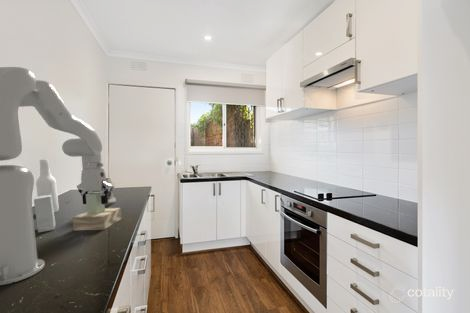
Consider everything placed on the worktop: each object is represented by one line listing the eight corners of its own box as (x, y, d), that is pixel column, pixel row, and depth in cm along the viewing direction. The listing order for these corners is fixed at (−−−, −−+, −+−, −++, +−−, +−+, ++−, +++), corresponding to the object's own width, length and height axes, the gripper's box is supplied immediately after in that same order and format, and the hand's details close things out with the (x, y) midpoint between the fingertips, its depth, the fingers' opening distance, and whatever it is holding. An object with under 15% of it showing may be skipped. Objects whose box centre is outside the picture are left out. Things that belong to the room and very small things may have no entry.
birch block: (104, 230, 104) (103, 216, 103) (73, 231, 105) (72, 217, 104) (121, 219, 118) (120, 207, 117) (94, 220, 119) (93, 208, 118)
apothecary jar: (97, 216, 123) (94, 181, 122) (87, 213, 131) (84, 180, 129) (120, 210, 133) (118, 178, 132) (110, 207, 140) (107, 176, 139)
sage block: (97, 214, 108) (95, 194, 107) (87, 214, 109) (85, 194, 108) (105, 210, 113) (103, 191, 112) (95, 210, 114) (93, 191, 113)
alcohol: (35, 214, 133) (29, 160, 130) (51, 209, 141) (46, 158, 139) (47, 215, 130) (41, 159, 128) (62, 210, 138) (57, 158, 136)
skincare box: (54, 230, 106) (51, 196, 105) (36, 233, 103) (33, 199, 102) (55, 224, 113) (52, 193, 112) (39, 227, 110) (36, 195, 109)
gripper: (114, 164, 111) (117, 201, 112) (82, 165, 114) (85, 201, 116) (102, 166, 104) (106, 206, 105) (68, 167, 107) (72, 205, 108)
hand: (95, 203), depth 110 cm, fingers open, 9 cm apart
